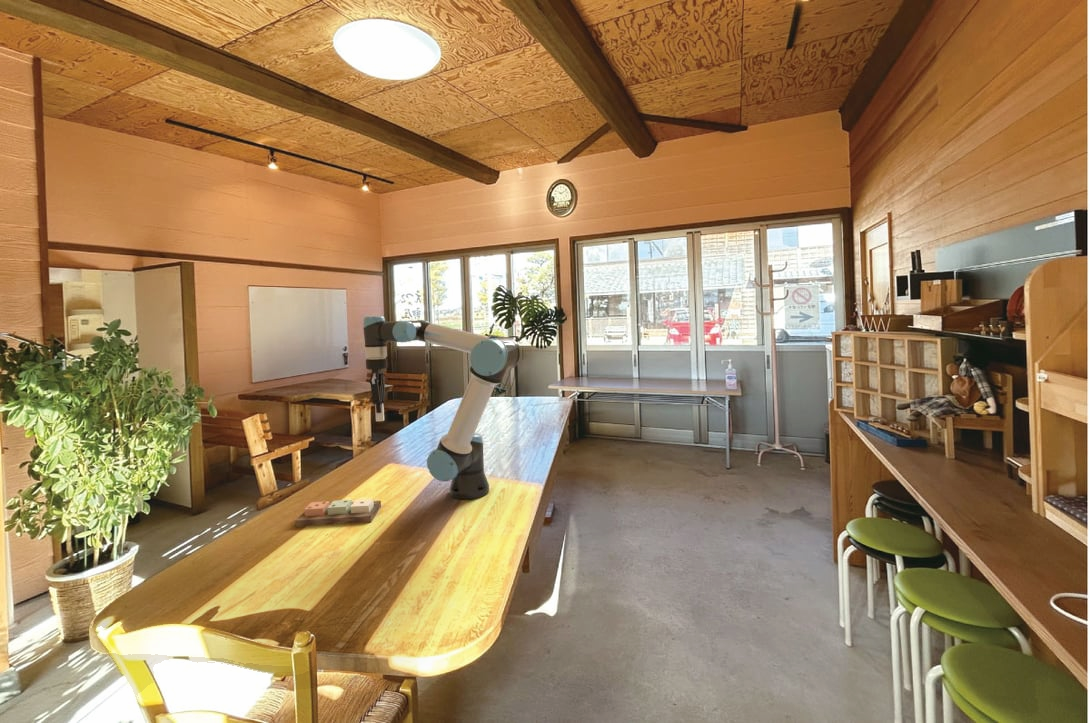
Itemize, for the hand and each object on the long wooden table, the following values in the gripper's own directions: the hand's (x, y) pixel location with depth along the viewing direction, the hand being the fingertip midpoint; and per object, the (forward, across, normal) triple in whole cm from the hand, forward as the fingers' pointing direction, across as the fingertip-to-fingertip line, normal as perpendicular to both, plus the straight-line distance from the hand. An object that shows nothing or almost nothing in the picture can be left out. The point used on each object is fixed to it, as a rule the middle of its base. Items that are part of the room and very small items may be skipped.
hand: (380, 420), depth 175 cm
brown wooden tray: (+29, +16, -11) cm, 35 cm away
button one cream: (+28, +16, -4) cm, 32 cm away
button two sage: (+28, +16, -11) cm, 34 cm away
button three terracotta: (+28, +16, -19) cm, 37 cm away
